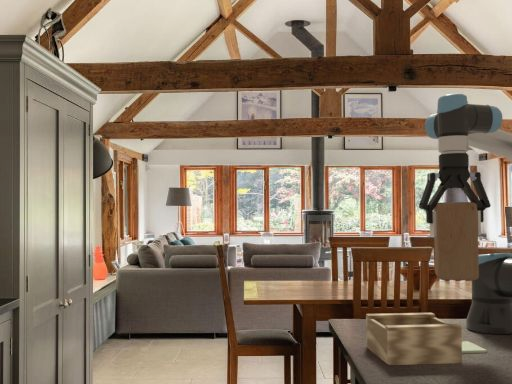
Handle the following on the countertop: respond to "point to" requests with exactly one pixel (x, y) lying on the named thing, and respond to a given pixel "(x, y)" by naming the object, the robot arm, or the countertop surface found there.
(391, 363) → the crate
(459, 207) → the wooden block
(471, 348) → the mat
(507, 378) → the countertop surface
